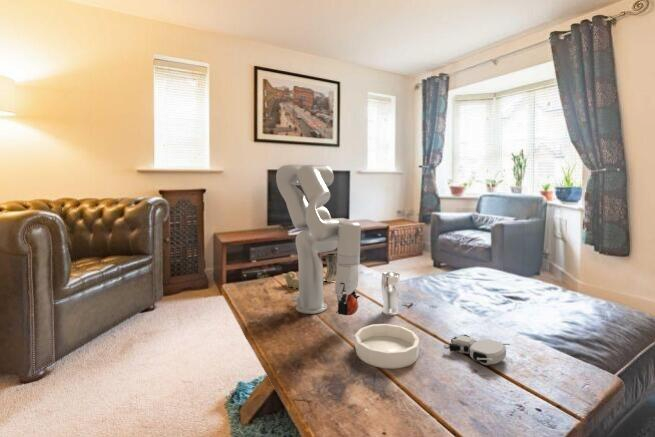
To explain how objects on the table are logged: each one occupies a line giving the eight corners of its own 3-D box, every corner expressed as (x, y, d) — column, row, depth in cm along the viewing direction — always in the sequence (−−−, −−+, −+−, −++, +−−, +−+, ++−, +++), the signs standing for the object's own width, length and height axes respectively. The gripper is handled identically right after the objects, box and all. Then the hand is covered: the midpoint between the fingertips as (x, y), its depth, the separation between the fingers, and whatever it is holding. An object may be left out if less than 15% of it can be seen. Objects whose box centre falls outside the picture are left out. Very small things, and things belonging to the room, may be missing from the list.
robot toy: (441, 356, 96) (494, 374, 84) (440, 341, 95) (494, 357, 84) (461, 342, 104) (512, 357, 92) (460, 328, 103) (512, 342, 92)
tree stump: (326, 283, 164) (326, 257, 162) (319, 278, 173) (319, 253, 172) (344, 281, 167) (344, 255, 166) (337, 276, 176) (337, 252, 175)
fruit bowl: (347, 360, 92) (346, 344, 92) (366, 333, 109) (366, 320, 108) (412, 374, 85) (412, 358, 84) (422, 343, 101) (422, 329, 101)
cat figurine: (294, 279, 151) (282, 267, 160) (288, 292, 152) (277, 280, 161) (308, 280, 156) (296, 269, 165) (302, 294, 157) (290, 281, 166)
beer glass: (399, 316, 122) (400, 277, 121) (380, 315, 124) (381, 276, 122) (399, 309, 129) (400, 272, 128) (381, 308, 130) (381, 271, 129)
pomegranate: (339, 325, 108) (364, 309, 106) (327, 306, 108) (351, 290, 107) (343, 317, 115) (366, 302, 114) (331, 300, 116) (354, 285, 114)
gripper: (347, 252, 118) (346, 298, 121) (327, 264, 102) (326, 317, 105) (367, 254, 115) (365, 302, 118) (349, 267, 99) (348, 322, 102)
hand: (347, 309), depth 111 cm, fingers closed on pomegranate, 7 cm apart
